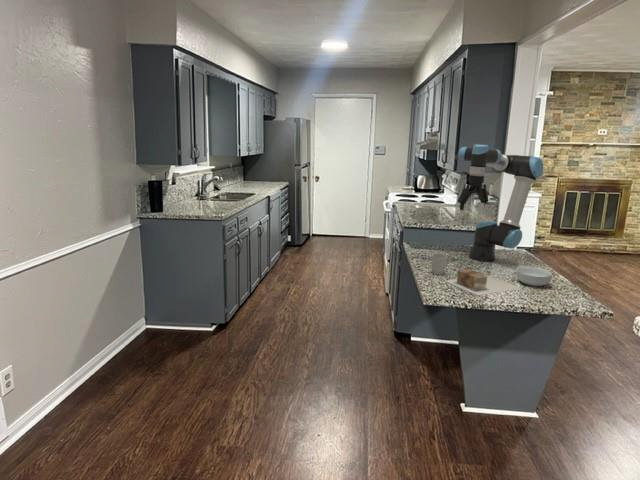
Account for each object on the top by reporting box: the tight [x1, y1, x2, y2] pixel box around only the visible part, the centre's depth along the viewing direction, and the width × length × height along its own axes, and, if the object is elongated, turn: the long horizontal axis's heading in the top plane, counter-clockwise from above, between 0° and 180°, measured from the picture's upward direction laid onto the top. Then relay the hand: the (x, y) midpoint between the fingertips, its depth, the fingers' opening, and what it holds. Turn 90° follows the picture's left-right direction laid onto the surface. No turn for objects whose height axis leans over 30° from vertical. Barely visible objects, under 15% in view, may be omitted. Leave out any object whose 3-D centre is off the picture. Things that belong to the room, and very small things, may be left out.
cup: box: [431, 253, 449, 276], centre depth 238 cm, size 8×8×10 cm
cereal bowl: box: [515, 266, 553, 287], centre depth 230 cm, size 17×17×7 cm
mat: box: [443, 273, 520, 297], centre depth 225 cm, size 30×22×1 cm
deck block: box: [456, 268, 487, 291], centre depth 221 cm, size 12×7×6 cm, turn 29°
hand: (471, 215), depth 236 cm, fingers open, 13 cm apart
